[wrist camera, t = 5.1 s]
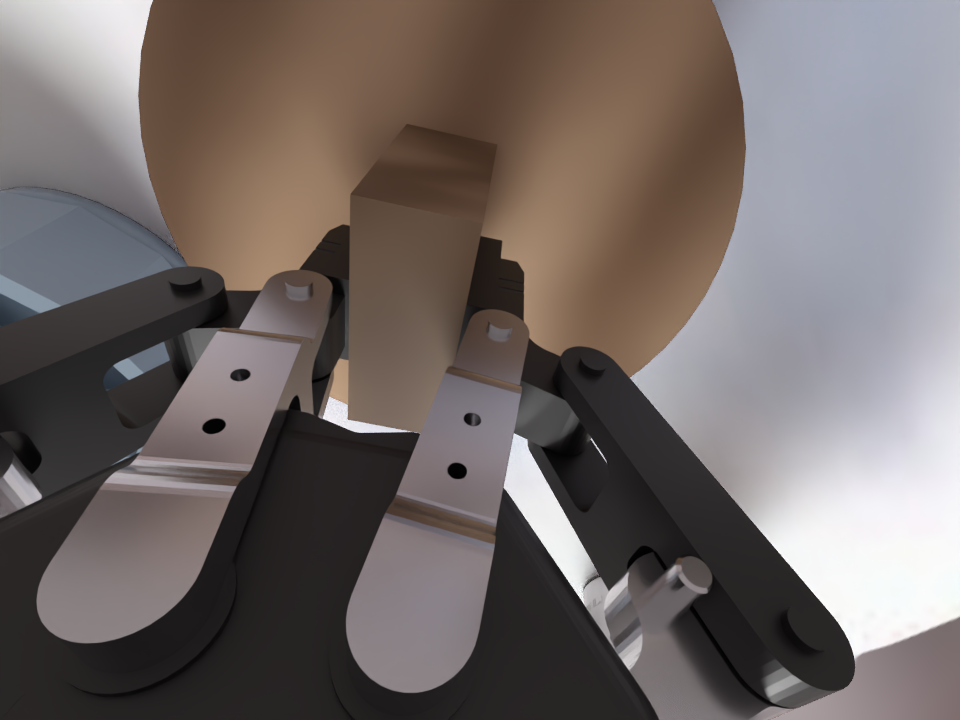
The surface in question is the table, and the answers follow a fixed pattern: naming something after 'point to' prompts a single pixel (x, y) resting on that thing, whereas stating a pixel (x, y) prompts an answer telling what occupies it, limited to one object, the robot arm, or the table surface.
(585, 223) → the lid
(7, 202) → the bowl
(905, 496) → the table surface
